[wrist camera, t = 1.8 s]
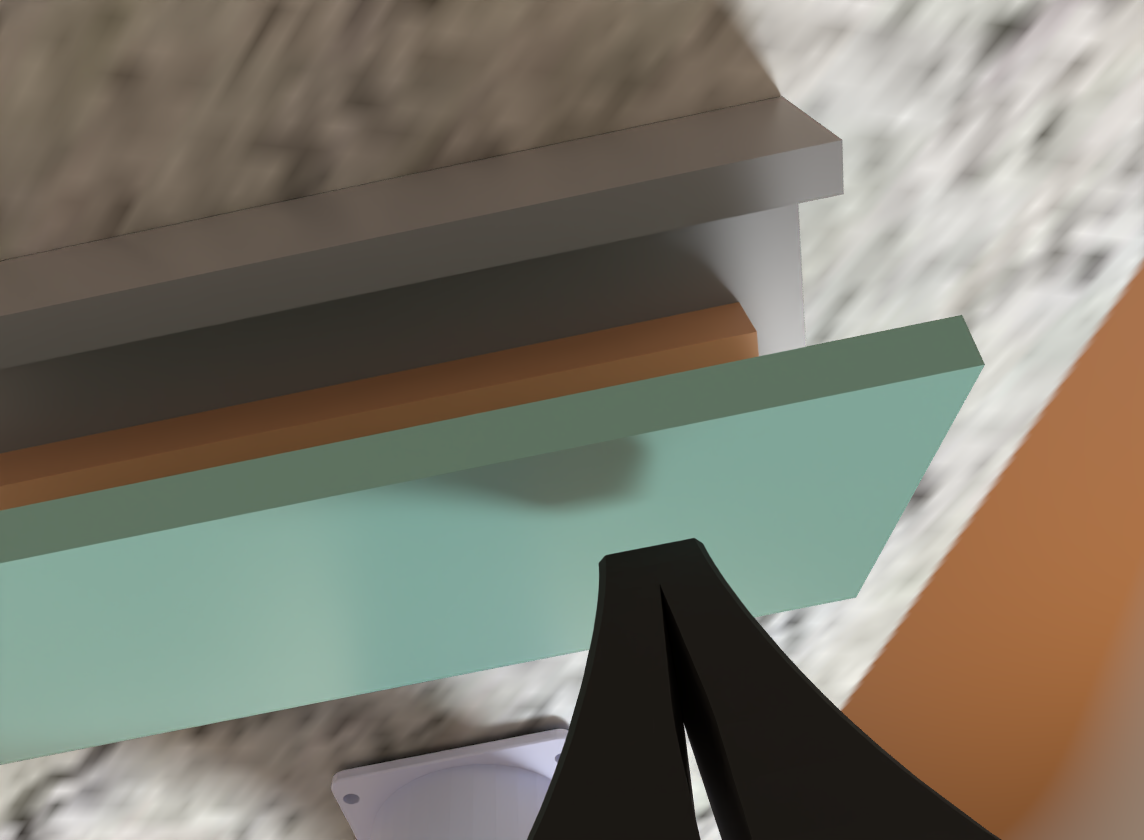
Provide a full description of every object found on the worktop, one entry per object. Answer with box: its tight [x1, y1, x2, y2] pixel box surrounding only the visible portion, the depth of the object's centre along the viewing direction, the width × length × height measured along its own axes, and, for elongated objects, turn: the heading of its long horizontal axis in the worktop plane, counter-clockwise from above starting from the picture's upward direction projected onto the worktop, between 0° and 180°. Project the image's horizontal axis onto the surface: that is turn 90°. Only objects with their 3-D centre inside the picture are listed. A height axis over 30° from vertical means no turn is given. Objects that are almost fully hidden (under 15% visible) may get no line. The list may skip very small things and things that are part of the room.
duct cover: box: [0, 315, 985, 765], centre depth 17 cm, size 10×22×1 cm, turn 102°
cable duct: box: [0, 96, 844, 511], centre depth 21 cm, size 11×22×4 cm, turn 101°
